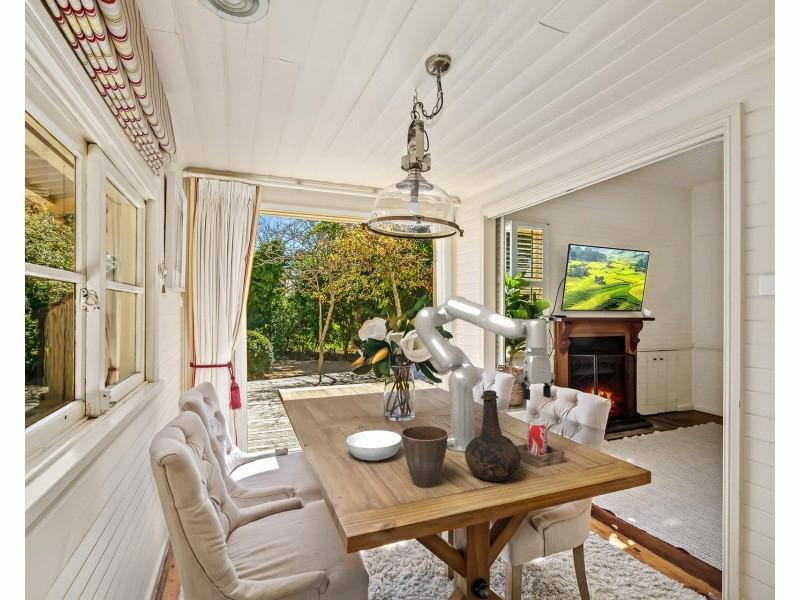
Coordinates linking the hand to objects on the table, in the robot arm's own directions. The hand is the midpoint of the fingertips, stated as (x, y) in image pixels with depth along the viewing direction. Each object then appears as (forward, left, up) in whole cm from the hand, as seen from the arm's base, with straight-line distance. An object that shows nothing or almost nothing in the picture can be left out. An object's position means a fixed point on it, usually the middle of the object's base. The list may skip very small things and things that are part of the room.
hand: (536, 398), depth 147 cm
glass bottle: (-25, -6, -22) cm, 34 cm away
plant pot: (-48, -2, -22) cm, 53 cm away
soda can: (0, 0, -21) cm, 21 cm away
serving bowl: (-55, +27, -23) cm, 65 cm away
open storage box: (0, 0, -22) cm, 22 cm away
